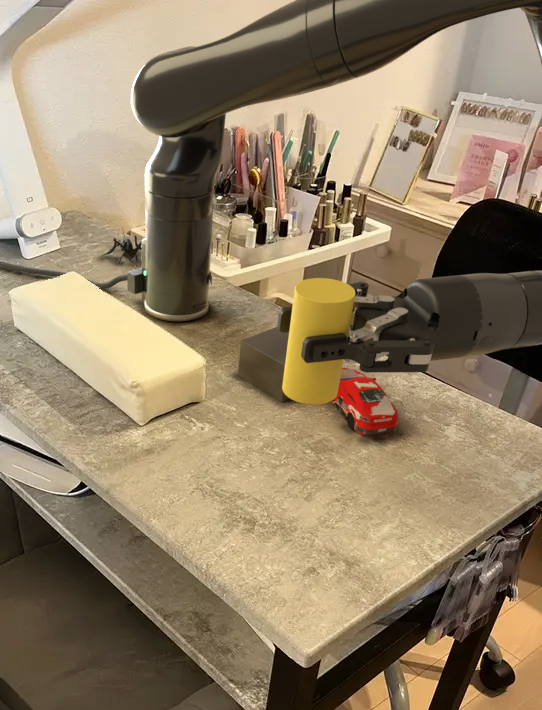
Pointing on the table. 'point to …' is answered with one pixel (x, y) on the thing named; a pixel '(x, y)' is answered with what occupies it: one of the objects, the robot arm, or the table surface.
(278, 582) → the table surface
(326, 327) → the canister
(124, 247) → the creature
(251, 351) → the block
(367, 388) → the race car
